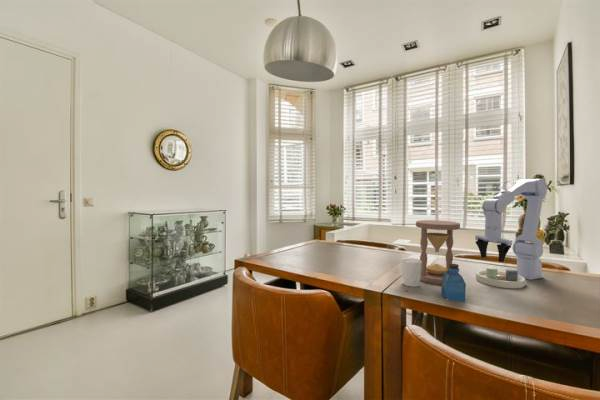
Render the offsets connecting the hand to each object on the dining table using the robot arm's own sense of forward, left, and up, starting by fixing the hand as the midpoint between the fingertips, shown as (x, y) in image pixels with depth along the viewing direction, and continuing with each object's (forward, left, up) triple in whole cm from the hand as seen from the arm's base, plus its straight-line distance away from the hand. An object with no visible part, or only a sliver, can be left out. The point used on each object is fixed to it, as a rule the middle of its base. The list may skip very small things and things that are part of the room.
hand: (492, 259), depth 123 cm
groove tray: (-5, 0, -10) cm, 11 cm away
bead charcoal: (-5, +5, -9) cm, 11 cm away
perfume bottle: (+29, +6, -10) cm, 31 cm away
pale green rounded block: (0, 0, -9) cm, 9 cm away
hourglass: (+17, -13, -10) cm, 24 cm away
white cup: (+33, -11, -10) cm, 36 cm away
